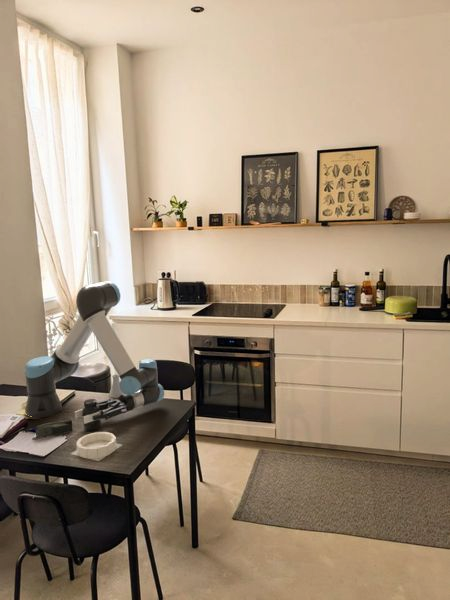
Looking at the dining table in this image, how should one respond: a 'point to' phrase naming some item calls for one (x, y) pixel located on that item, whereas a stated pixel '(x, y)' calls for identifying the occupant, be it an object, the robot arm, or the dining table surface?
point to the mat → (100, 457)
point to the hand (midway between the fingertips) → (79, 417)
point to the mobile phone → (53, 429)
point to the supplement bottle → (91, 408)
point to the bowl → (96, 445)
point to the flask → (115, 387)
